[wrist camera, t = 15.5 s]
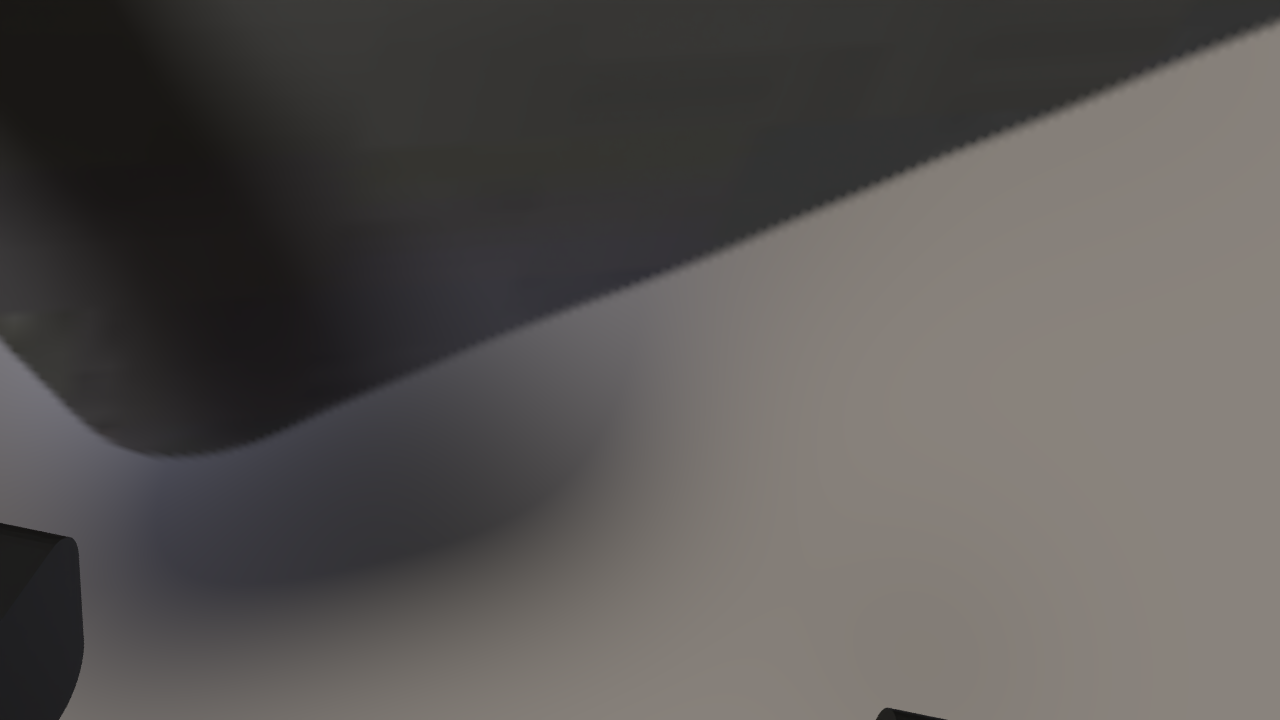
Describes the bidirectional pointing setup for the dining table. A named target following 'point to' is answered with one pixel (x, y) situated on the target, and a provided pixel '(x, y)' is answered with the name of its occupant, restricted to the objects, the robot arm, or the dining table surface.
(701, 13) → the dining table surface
